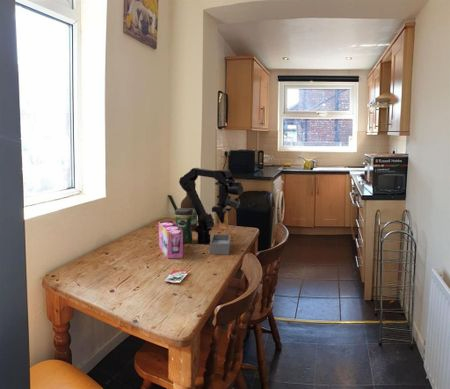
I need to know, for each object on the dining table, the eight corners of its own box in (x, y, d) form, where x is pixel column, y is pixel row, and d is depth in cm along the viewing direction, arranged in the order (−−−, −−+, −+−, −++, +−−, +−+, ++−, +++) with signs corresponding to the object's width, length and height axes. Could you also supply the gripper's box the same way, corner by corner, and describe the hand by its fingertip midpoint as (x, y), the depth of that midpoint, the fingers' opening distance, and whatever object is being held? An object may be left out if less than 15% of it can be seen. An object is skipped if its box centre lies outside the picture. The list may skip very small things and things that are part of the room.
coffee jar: (193, 240, 237) (194, 207, 236) (190, 243, 229) (190, 209, 228) (176, 240, 238) (177, 207, 237) (173, 242, 231) (173, 208, 229)
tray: (209, 253, 213) (209, 243, 212) (212, 244, 231) (212, 234, 230) (228, 254, 213) (228, 243, 212) (230, 244, 230) (230, 234, 229)
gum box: (184, 258, 206) (184, 231, 204) (168, 259, 203) (167, 232, 201) (173, 245, 228) (172, 220, 226) (158, 246, 226) (158, 221, 223)
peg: (225, 228, 223) (225, 211, 222) (219, 227, 224) (219, 210, 223) (227, 226, 226) (228, 210, 225) (221, 226, 228) (221, 209, 226)
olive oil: (177, 229, 263) (176, 189, 259) (190, 226, 270) (190, 188, 266) (187, 232, 255) (187, 191, 251) (201, 229, 262) (201, 189, 258)
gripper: (232, 197, 211) (231, 227, 214) (244, 192, 228) (243, 220, 231) (211, 195, 215) (211, 225, 218) (224, 190, 232) (224, 218, 235)
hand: (223, 222), depth 225 cm, fingers closed on peg, 3 cm apart
